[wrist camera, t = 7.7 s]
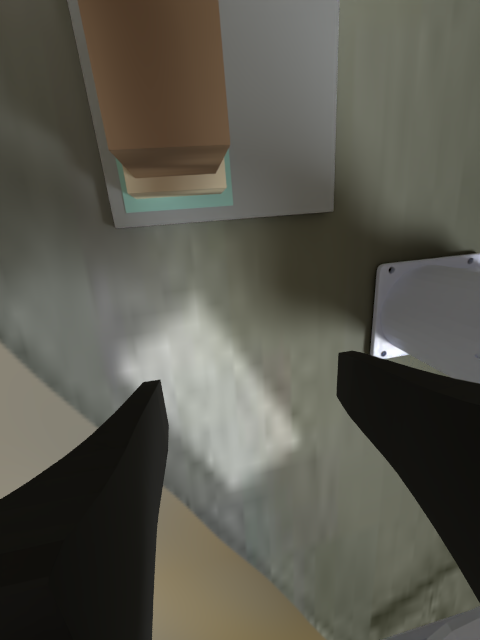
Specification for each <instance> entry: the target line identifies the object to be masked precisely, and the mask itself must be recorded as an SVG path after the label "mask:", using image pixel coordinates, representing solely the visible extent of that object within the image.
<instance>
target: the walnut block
mask: <svg viewBox="0 0 480 640" xmlns="http://www.w3.org/2000/svg"><path fill="white" fill-rule="evenodd" d="M77 1H78V5H79V10H80V15H81V20H82V25H83V30H84V34H85V39H86V44H87V49H88V54H89V58H90V63H91V68H92V73H93V78H94V82H95V87H96V92H97V97H98V102H99V107H100V111H101V116H102V121H103V126H104V131H105V135H106V140H107V145H108V150H109V151H110V152H111V153H112V154H113V155H114V156H115V157H116V158H117V159H118V161H119V162H120V163H121V164H122V165H123V166H124V167H125V168H126V169H127V170H128V171H129V172H130V173H131V174H132V175H133V176H134V177H135V178H150V177H167V176H184V175H201V174H216V172H217V170H218V168H219V166H220V164H221V162H222V160H223V158H224V156H225V154H226V152H227V150H228V149H229V147H230V133H229V121H228V109H227V97H226V85H225V73H224V61H223V49H222V37H221V25H220V13H219V1H218V0H77Z"/></svg>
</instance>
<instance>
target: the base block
mask: <svg viewBox="0 0 480 640" xmlns="http://www.w3.org/2000/svg"><path fill="white" fill-rule="evenodd" d="M122 167H123V172H124V177H125V182H126V188H127V193H128V194H129V195H131V196H132V197H134V198H135V199H146V198H162V197H178V196H193V195H209V194H221V193H222V192H223V191H224V190H225V189H226V188H227V185H226V173H225V162H224V158H223V160H222V162H221V164H220V166H219V168H218V170H217V172H216V174H201V175H184V176H167V177H150V178H135V177H134V176H133V175H132V174H131V173H130V172H129V171H128V170H127V169H126V168H125V167H124V166H123V165H122Z"/></svg>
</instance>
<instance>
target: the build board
mask: <svg viewBox="0 0 480 640" xmlns="http://www.w3.org/2000/svg"><path fill="white" fill-rule="evenodd" d="M218 1H219V13H220V25H221V37H222V49H223V61H224V73H225V85H226V97H227V109H228V121H229V133H230V147H229V149H228V150H227V152H226V154H225V156H224V162H225V173H226V185H227V188H226V189H225V190H224V191H223V192H222V193H221V194H209V195H193V196H178V197H162V198H146V199H135V198H134V197H132V196H131V195H129V194H128V193H127V188H126V182H125V177H124V172H123V167H122V164H121V163H120V162H119V161H118V159H117V158H116V157H115V156H114V155H113V154H112V153H111V152H110V151H109V150H108V145H107V140H106V135H105V131H104V126H103V121H102V116H101V111H100V107H99V102H98V97H97V92H96V87H95V82H94V78H93V73H92V68H91V63H90V58H89V54H88V49H87V44H86V39H85V34H84V30H83V25H82V20H81V15H80V10H79V5H78V1H77V0H67V2H68V7H69V12H70V16H71V21H72V26H73V30H74V35H75V40H76V45H77V49H78V54H79V59H80V64H81V68H82V73H83V78H84V82H85V87H86V92H87V97H88V101H89V106H90V111H91V116H92V120H93V125H94V130H95V134H96V139H97V144H98V149H99V153H100V158H101V163H102V168H103V172H104V177H105V182H106V186H107V191H108V196H109V201H110V205H111V210H112V215H113V220H114V224H115V228H131V227H143V226H156V225H169V224H182V223H195V222H207V221H220V220H233V219H246V218H259V217H272V216H284V215H297V214H310V213H323V212H332V211H334V178H335V142H336V106H337V70H338V33H339V0H218Z"/></svg>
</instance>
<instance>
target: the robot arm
mask: <svg viewBox="0 0 480 640" xmlns="http://www.w3.org/2000/svg"><path fill="white" fill-rule="evenodd" d="M468 259H469V261H468ZM390 267H391V271H390V272H389V268H390ZM382 352H383V353H382ZM381 353H382V354H381ZM403 355H411V356H413V357H415V358H417V359H419V360H420V361H422V362H424V363H426V364H428V365H429V366H431V367H433V368H435V369H437V370H439V371H440V372H442V373H444V374H446V375H448V376H450V377H451V378H450V377H446V376H442V375H438V374H434V373H430V372H426V371H423V370H419V369H415V368H412V367H408V366H405V365H402V364H398V363H395V362H392V361H389V360H385V359H386V358H391V357H397V356H403ZM337 397H338V399H339V401H340V402H341V404H342V406H343V407H344V409H345V410H346V412H347V413H348V415H349V416H350V417H351V419H352V420H353V421H354V422H355V423H356V425H357V426H358V427H359V428H360V429H361V431H362V432H363V433H364V434H365V435H366V436H367V438H368V439H369V440H370V441H371V442H372V443H373V444H374V446H375V447H376V448H377V449H378V450H379V451H380V453H381V454H382V455H383V456H384V457H385V458H386V460H387V461H388V462H389V463H390V465H391V466H392V467H393V468H394V470H395V471H396V472H397V473H398V475H399V476H400V478H401V479H402V481H403V482H404V483H405V485H406V486H407V488H408V489H409V490H410V492H411V493H412V495H413V496H414V498H415V499H416V501H417V502H418V504H419V505H420V507H421V508H422V510H423V511H424V513H425V514H426V516H427V517H428V519H429V520H430V522H431V523H432V525H433V526H434V528H435V529H436V531H437V533H438V534H439V536H440V537H441V539H442V541H443V542H444V544H445V545H446V547H447V549H448V550H449V552H450V553H451V555H452V557H453V558H454V560H455V561H456V563H457V565H458V566H459V568H460V570H461V571H462V573H463V575H464V577H465V578H466V580H467V582H468V584H469V585H470V587H471V589H472V590H473V592H474V594H475V596H476V597H477V599H478V601H479V602H480V253H475V254H466V255H457V256H448V257H439V258H430V259H421V260H412V261H403V262H394V263H385V264H381V265H380V266H379V267H378V268H377V275H376V287H375V300H374V313H373V325H372V338H371V350H370V355H369V354H365V353H361V352H356V351H348V352H341V353H339V356H338V376H337ZM168 429H169V425H168V419H167V414H166V408H165V403H164V397H163V392H162V386H161V381H160V380H155V381H148V382H143V383H142V384H141V385H140V386H139V387H138V388H137V390H136V391H135V392H134V393H133V394H132V395H131V396H130V397H129V398H128V399H127V400H126V401H125V403H124V404H123V405H122V406H121V407H120V408H119V409H118V410H117V411H116V412H115V413H114V414H113V415H112V416H111V417H110V418H109V419H108V420H107V421H106V422H105V423H103V424H102V425H101V426H100V427H99V428H98V429H97V430H96V431H95V432H94V433H93V434H92V435H91V436H89V437H88V438H87V439H86V440H85V441H83V442H82V443H81V444H80V445H79V446H77V447H76V448H75V449H73V450H72V451H71V452H70V453H69V454H67V455H66V456H65V457H63V458H62V459H60V460H59V461H58V462H56V463H55V464H53V465H52V466H50V467H49V468H48V469H46V470H45V471H43V472H42V473H41V474H39V475H37V476H36V477H35V478H33V479H32V480H30V481H29V482H27V483H26V484H24V485H23V486H21V487H19V488H18V489H16V490H15V491H13V492H11V493H10V494H8V495H7V496H5V497H3V498H2V499H0V640H152V619H153V594H154V573H155V553H156V537H157V536H156V534H157V523H158V514H159V507H160V500H161V494H162V487H163V481H164V474H165V467H166V460H167V453H168ZM381 640H480V606H478V607H476V608H474V609H472V610H469V611H466V612H463V613H460V614H457V615H454V616H451V617H448V618H445V619H442V620H439V621H436V622H433V623H430V624H427V625H424V626H421V627H418V628H415V629H412V630H409V631H406V632H403V633H399V634H396V635H393V636H390V637H387V638H384V639H381Z"/></svg>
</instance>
